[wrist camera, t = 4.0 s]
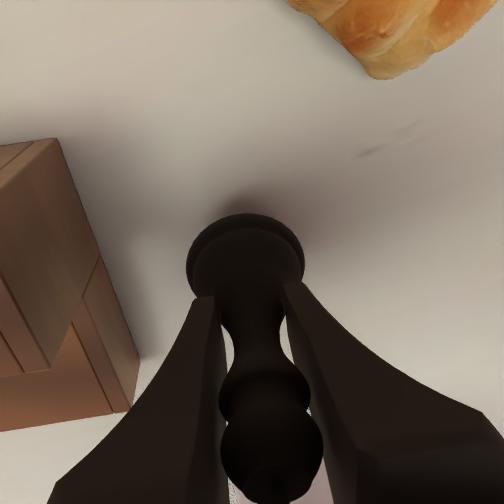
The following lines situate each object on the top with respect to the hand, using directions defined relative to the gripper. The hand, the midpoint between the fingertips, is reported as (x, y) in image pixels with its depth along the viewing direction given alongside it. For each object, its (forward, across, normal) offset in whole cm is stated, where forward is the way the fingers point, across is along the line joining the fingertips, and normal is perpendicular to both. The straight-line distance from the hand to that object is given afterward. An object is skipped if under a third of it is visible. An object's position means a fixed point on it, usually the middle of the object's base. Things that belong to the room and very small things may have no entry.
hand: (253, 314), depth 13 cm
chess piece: (+3, 0, 0) cm, 3 cm away
